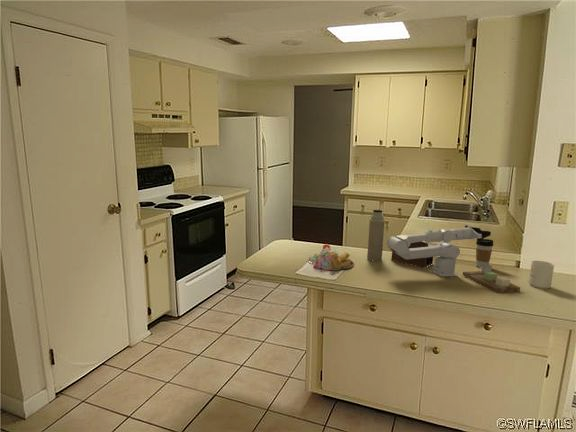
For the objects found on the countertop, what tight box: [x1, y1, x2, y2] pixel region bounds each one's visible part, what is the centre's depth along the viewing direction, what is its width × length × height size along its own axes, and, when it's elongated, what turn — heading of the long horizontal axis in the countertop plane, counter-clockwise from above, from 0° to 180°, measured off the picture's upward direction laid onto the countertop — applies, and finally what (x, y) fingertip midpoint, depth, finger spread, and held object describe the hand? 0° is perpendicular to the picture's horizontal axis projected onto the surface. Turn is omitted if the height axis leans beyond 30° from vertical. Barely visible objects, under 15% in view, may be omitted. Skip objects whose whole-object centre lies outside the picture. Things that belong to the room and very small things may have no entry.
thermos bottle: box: [366, 209, 386, 262], centre depth 221 cm, size 8×8×28 cm
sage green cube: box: [484, 271, 498, 281], centre depth 188 cm, size 4×4×4 cm
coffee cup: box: [475, 238, 494, 268], centre depth 214 cm, size 8×8×15 cm
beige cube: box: [495, 276, 511, 287], centre depth 180 cm, size 4×4×4 cm
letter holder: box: [390, 236, 434, 268], centre depth 219 cm, size 10×20×14 cm, turn 49°
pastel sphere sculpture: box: [308, 243, 355, 271], centre depth 211 cm, size 25×24×9 cm
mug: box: [528, 260, 555, 290], centre depth 187 cm, size 12×9×11 cm
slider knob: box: [480, 263, 493, 273], centre depth 196 cm, size 3×4×4 cm
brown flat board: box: [462, 270, 521, 294], centre depth 188 cm, size 12×24×2 cm, turn 12°
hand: (484, 231), depth 200 cm, fingers open, 7 cm apart
